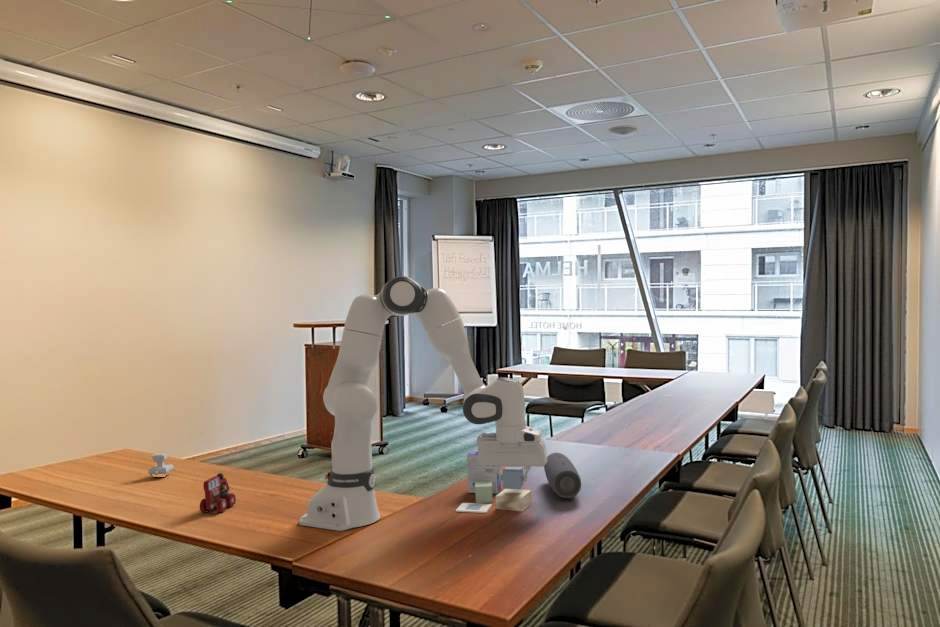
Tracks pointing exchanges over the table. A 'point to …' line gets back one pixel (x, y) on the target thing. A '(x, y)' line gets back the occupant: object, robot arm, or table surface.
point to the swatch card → (474, 507)
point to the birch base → (513, 499)
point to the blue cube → (512, 478)
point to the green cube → (483, 492)
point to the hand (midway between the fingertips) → (513, 480)
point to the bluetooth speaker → (562, 475)
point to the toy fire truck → (217, 494)
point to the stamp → (160, 465)
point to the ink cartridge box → (481, 474)
